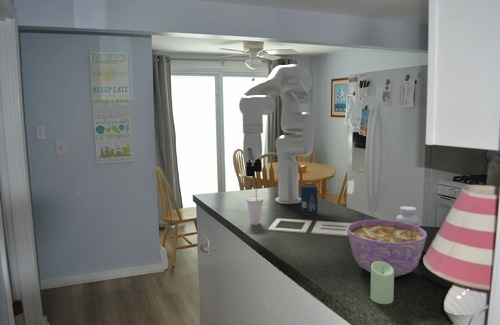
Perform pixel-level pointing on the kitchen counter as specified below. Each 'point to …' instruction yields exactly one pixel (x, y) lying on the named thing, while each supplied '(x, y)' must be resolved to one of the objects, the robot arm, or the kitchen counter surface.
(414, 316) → the kitchen counter surface
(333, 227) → the pads
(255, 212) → the smoothie
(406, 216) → the supplement bottle
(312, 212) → the soda can
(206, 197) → the kitchen counter surface
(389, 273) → the candle
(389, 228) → the bowl of food
